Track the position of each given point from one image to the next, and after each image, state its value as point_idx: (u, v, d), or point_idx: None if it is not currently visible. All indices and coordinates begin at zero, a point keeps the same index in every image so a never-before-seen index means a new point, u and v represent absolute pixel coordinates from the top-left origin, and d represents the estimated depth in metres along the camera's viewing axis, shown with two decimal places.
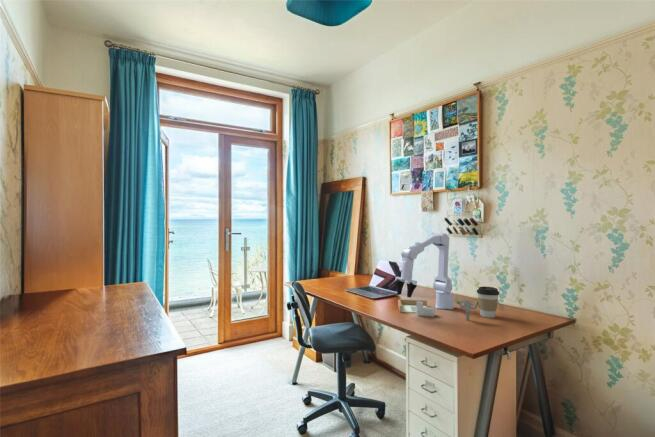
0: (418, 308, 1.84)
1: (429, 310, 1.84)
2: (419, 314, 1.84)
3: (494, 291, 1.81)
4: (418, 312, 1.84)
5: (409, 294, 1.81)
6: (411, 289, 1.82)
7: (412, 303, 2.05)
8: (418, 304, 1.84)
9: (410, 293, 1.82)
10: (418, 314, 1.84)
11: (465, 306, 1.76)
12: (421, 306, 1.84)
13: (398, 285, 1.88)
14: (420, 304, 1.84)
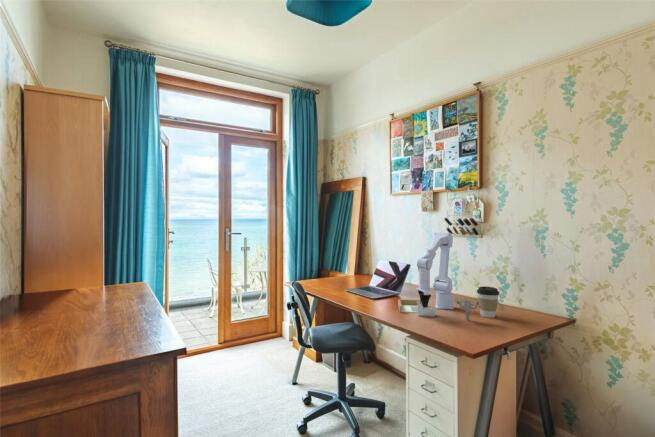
0: (419, 308, 1.84)
1: (429, 310, 1.84)
2: (420, 314, 1.84)
3: (494, 291, 1.81)
4: (419, 312, 1.84)
5: (424, 305, 1.82)
6: (426, 299, 1.81)
7: (412, 303, 2.05)
8: (419, 304, 1.84)
9: (425, 303, 1.82)
10: (419, 314, 1.84)
11: (465, 306, 1.76)
12: (422, 306, 1.84)
13: None
14: (421, 304, 1.84)
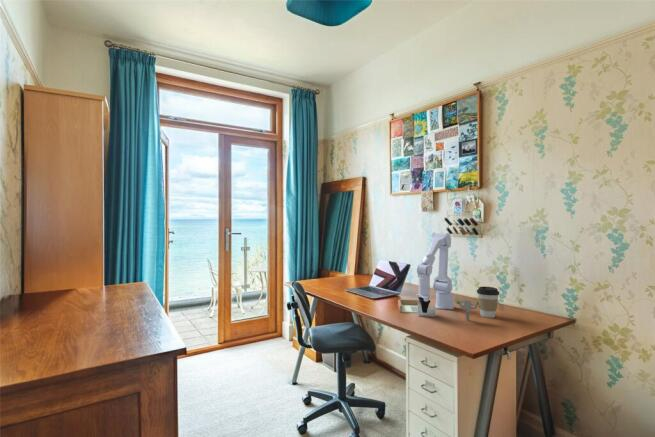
0: (419, 308, 1.84)
1: (430, 310, 1.84)
2: (420, 314, 1.84)
3: (494, 291, 1.81)
4: (419, 312, 1.84)
5: (424, 310, 1.83)
6: (425, 305, 1.83)
7: (412, 303, 2.05)
8: (419, 304, 1.84)
9: (425, 309, 1.83)
10: (419, 314, 1.84)
11: (465, 306, 1.76)
12: None
13: None
14: None
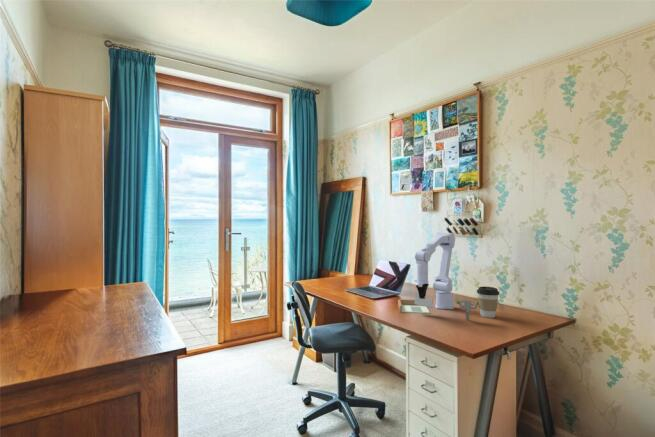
0: (416, 297, 1.87)
1: (427, 301, 1.85)
2: (416, 303, 1.87)
3: (494, 291, 1.81)
4: (416, 300, 1.87)
5: (421, 296, 1.85)
6: (422, 290, 1.85)
7: (412, 303, 2.05)
8: (417, 293, 1.87)
9: (421, 294, 1.85)
10: (415, 302, 1.87)
11: (465, 306, 1.76)
12: None
13: None
14: (418, 293, 1.87)
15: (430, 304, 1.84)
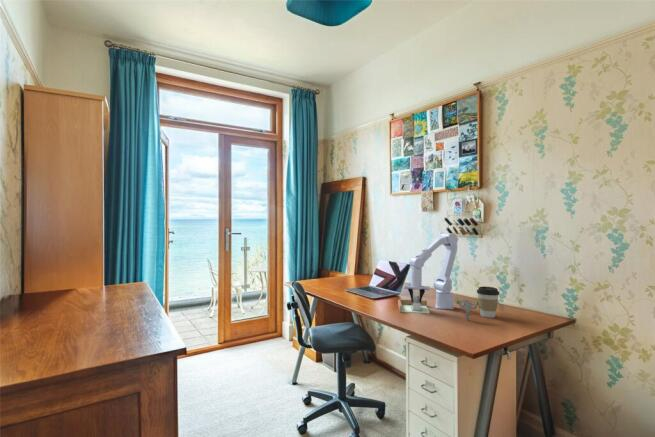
0: None
1: (412, 303, 1.96)
2: None
3: (494, 291, 1.81)
4: None
5: (411, 299, 1.97)
6: None
7: None
8: None
9: (411, 298, 1.96)
10: None
11: (465, 306, 1.76)
12: None
13: None
14: None
15: (413, 306, 1.94)
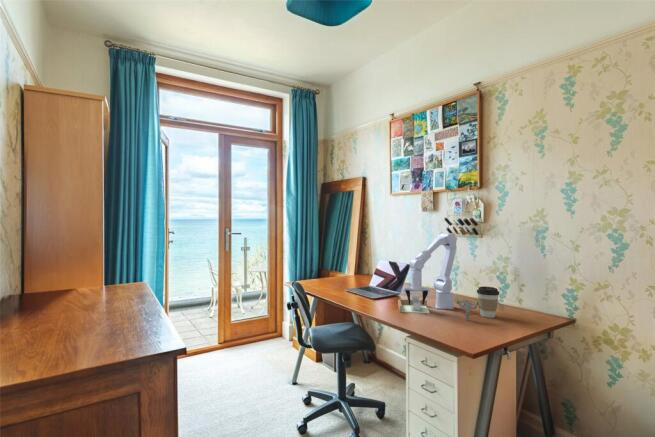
0: None
1: (412, 303, 1.96)
2: None
3: (494, 291, 1.81)
4: None
5: (408, 301, 1.97)
6: None
7: None
8: None
9: (408, 300, 1.97)
10: None
11: (465, 306, 1.76)
12: (412, 298, 2.00)
13: None
14: None
15: (413, 306, 1.94)
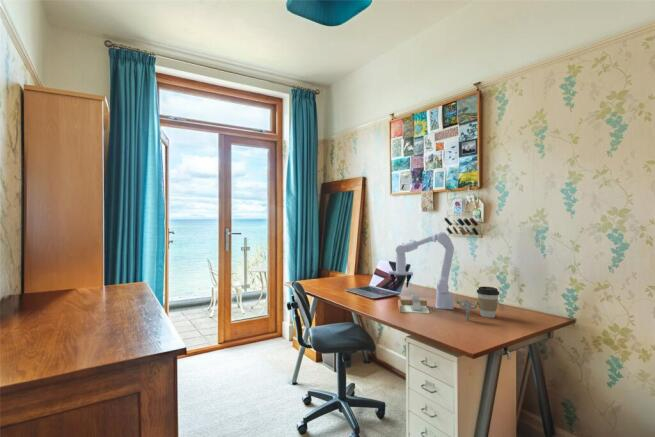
0: None
1: (412, 303, 1.96)
2: None
3: (494, 291, 1.81)
4: None
5: (393, 284, 2.10)
6: None
7: None
8: None
9: (393, 283, 2.10)
10: None
11: (465, 306, 1.76)
12: (412, 298, 2.00)
13: None
14: None
15: (413, 306, 1.94)
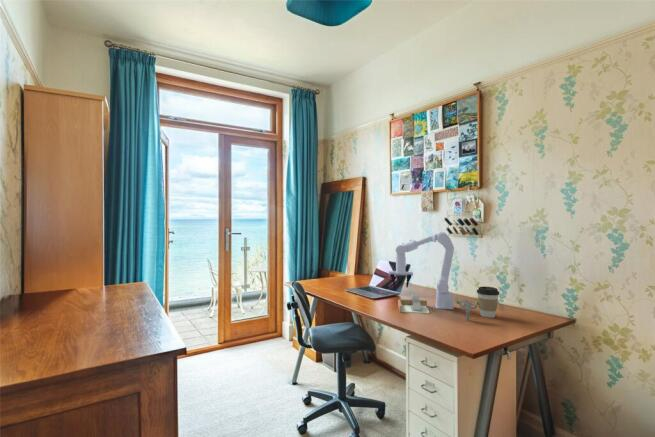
0: None
1: (412, 303, 1.96)
2: None
3: (494, 291, 1.81)
4: None
5: (393, 284, 2.10)
6: None
7: None
8: None
9: (393, 283, 2.10)
10: None
11: (465, 306, 1.76)
12: (412, 298, 2.00)
13: None
14: None
15: (413, 306, 1.94)
